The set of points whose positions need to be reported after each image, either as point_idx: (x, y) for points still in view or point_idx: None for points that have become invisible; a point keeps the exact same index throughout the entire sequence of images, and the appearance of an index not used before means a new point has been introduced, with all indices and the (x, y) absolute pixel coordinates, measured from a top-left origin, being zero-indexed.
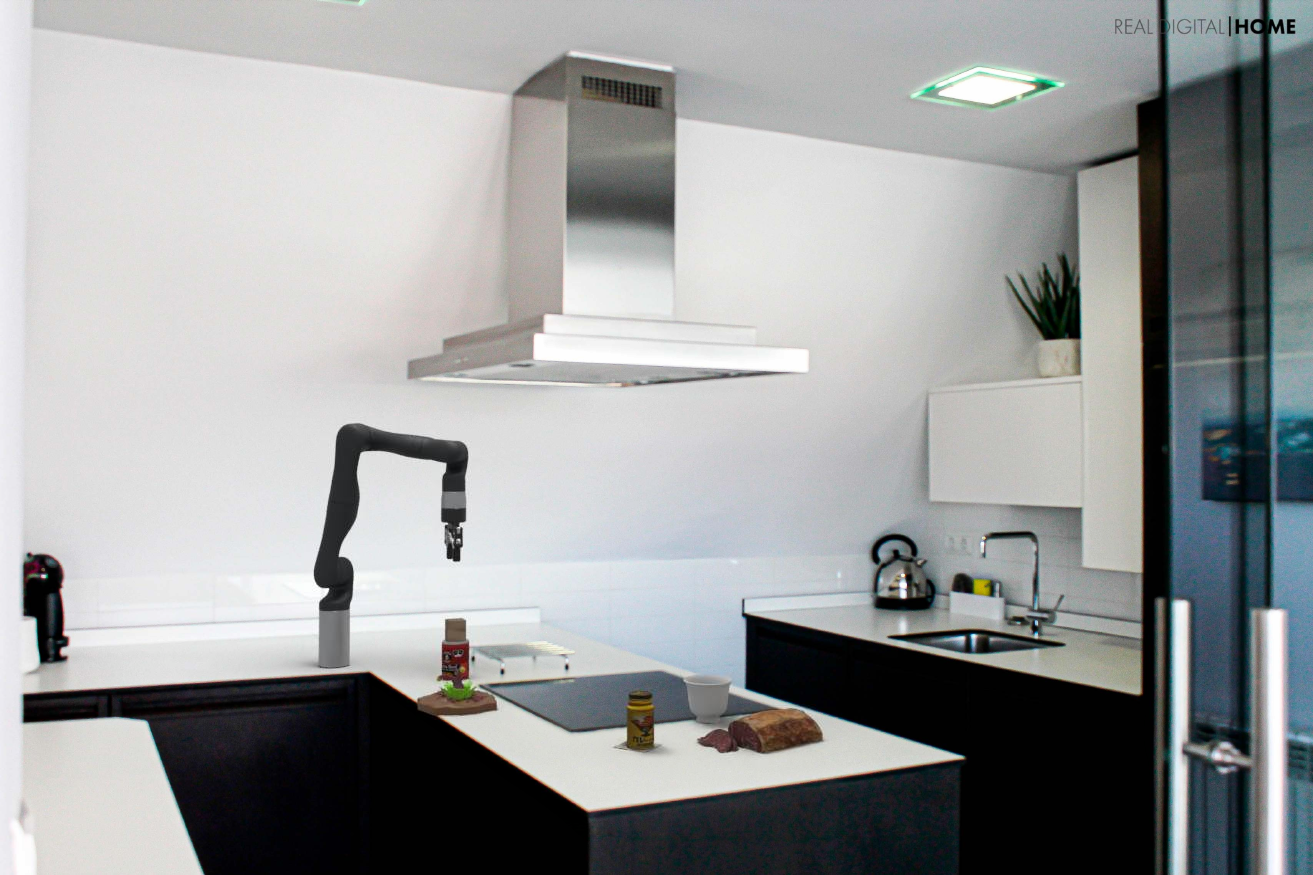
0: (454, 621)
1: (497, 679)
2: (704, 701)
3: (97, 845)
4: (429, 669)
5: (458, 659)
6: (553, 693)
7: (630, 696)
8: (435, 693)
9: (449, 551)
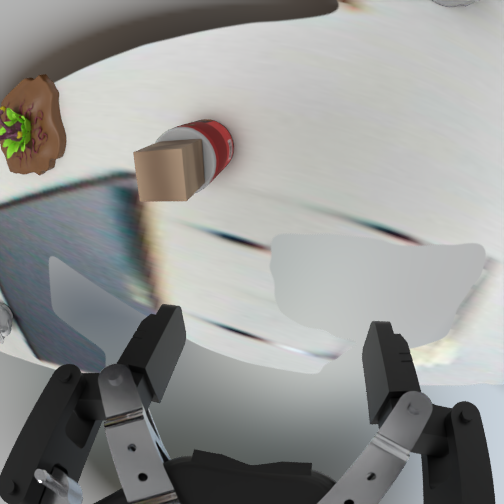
0: (136, 167)
1: (171, 212)
2: None
3: None
4: (322, 117)
5: None
6: (73, 252)
7: None
8: (26, 100)
9: (378, 373)
